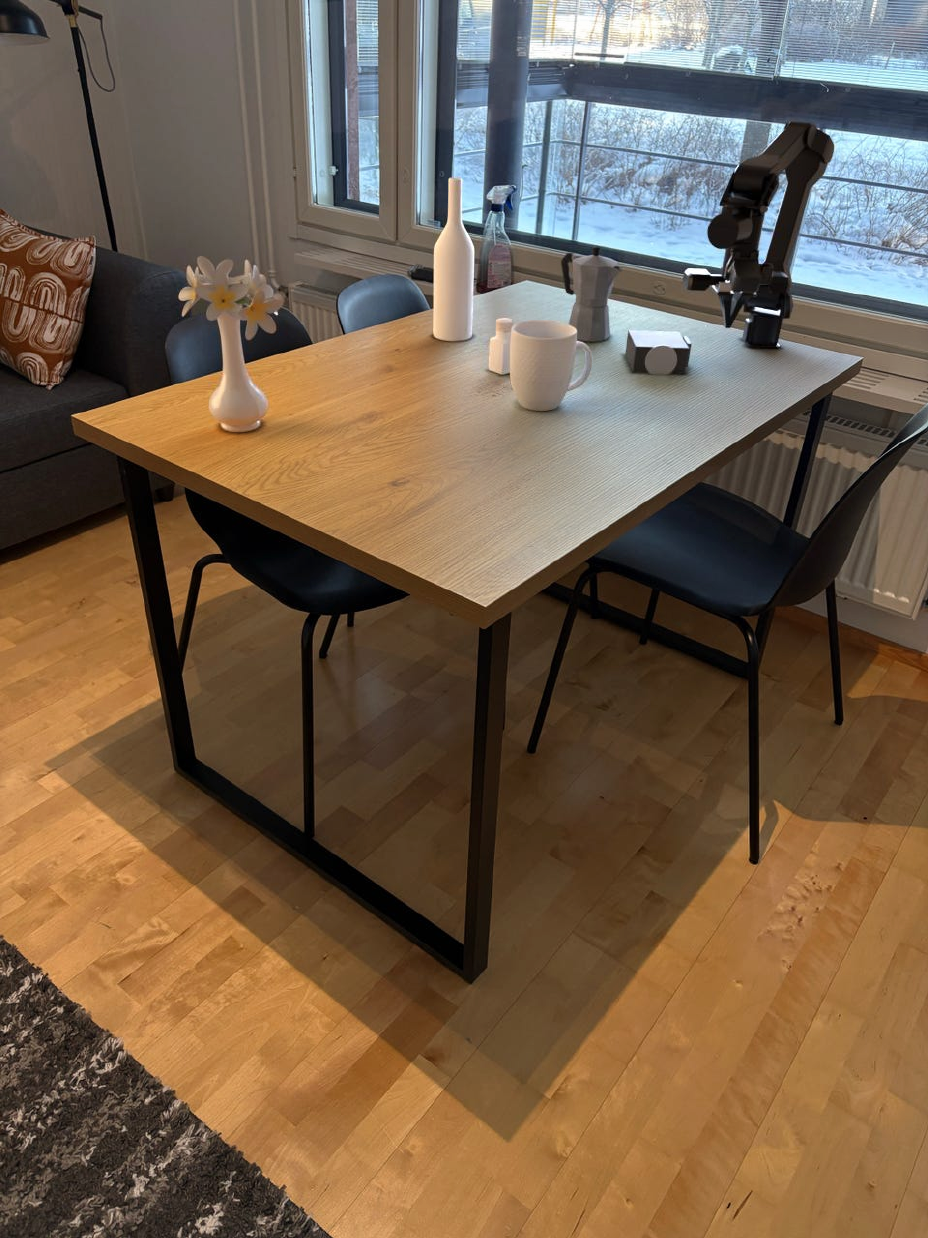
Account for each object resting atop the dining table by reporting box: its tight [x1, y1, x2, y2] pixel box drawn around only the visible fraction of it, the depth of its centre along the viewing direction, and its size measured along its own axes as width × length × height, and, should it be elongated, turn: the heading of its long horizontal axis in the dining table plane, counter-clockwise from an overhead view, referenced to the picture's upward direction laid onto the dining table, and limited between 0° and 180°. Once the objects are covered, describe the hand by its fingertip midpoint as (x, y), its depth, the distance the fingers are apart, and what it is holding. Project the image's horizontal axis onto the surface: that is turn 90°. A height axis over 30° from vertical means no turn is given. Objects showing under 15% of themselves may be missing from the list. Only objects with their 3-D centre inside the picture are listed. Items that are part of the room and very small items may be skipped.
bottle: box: [432, 177, 475, 342], centre depth 182 cm, size 8×8×30 cm
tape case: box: [624, 329, 689, 376], centre depth 176 cm, size 10×11×6 cm
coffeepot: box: [560, 245, 623, 343], centre depth 188 cm, size 15×9×18 cm, turn 44°
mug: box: [509, 319, 593, 412], centre depth 154 cm, size 15×11×13 cm
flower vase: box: [178, 255, 284, 433], centre depth 139 cm, size 13×18×25 cm
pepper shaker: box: [488, 317, 514, 376], centre depth 169 cm, size 4×4×10 cm
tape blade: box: [682, 335, 692, 368], centre depth 176 cm, size 10×5×5 cm, turn 89°
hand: (727, 327), depth 173 cm, fingers closed
